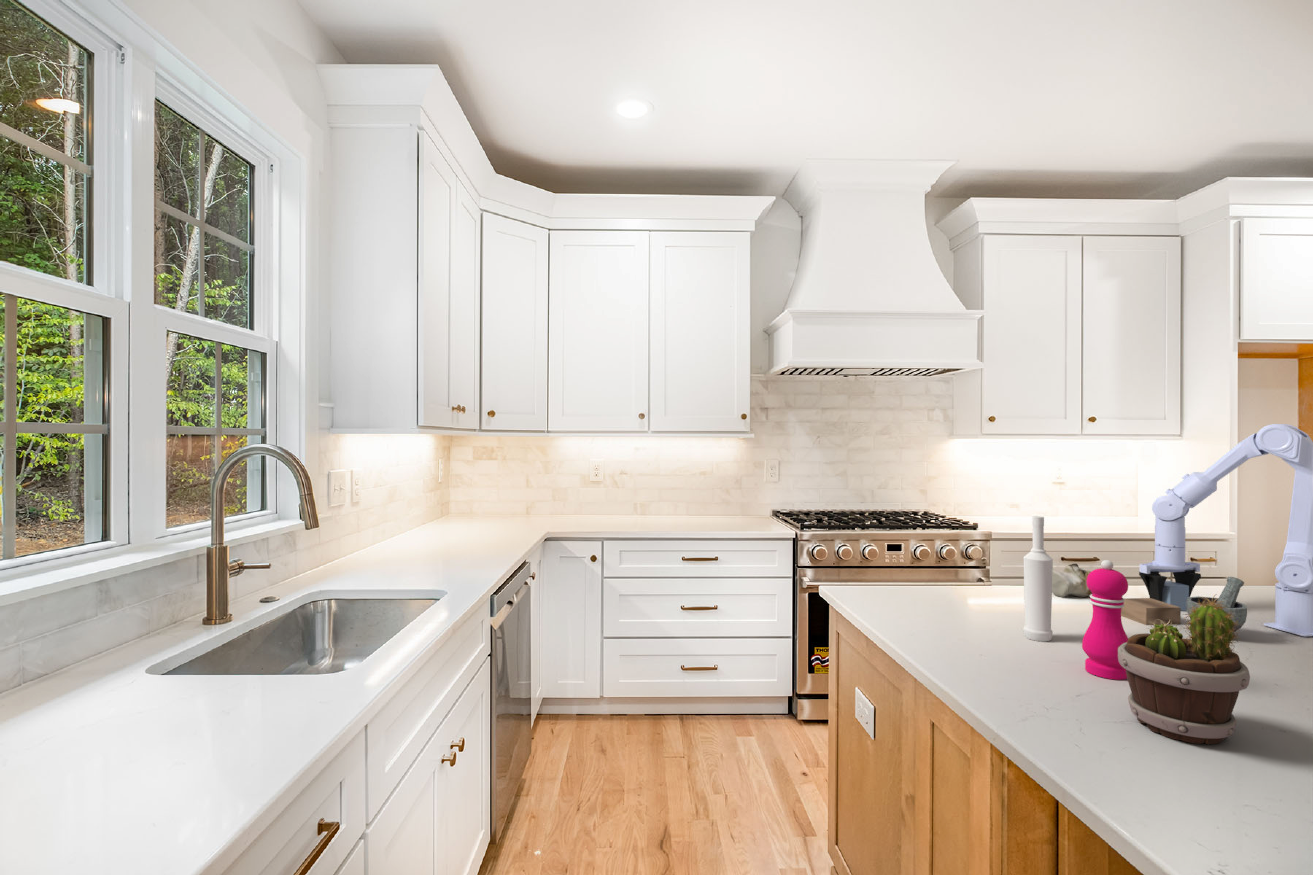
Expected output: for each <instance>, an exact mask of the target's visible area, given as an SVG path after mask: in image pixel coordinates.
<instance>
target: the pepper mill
mask: <svg viewBox="0 0 1313 875" xmlns="http://www.w3.org/2000/svg"><path fill="white" fill-rule="evenodd" d="M1100 563H1101V564H1100V566H1101V567H1100V568H1095V569H1093V570H1092V571H1090V573H1089V575H1088V576H1087V581H1086V583H1087V587H1088V588H1089V590H1090V591H1091V592H1092V594H1091V595H1089V597H1090V600H1089V603H1090V604H1092V617H1091V620H1090V623H1089V626H1088V627H1087V629H1086V631H1084V632H1085V633H1084V635H1083V637H1082V643H1081V647H1082V650H1083V652H1084V653H1085V654H1086V656H1087V658H1086V659H1085V661H1084V662H1085V663H1084V666H1085V668H1084V669H1085V671H1086V672H1087V673H1088V672H1089V673H1088V674H1090V675H1092V676H1095V675H1096V676H1095V677H1098V678H1101V677H1103V679H1106V678H1107V680H1113V679H1114V680H1115V681H1121V680H1122V681H1123V680H1128V679H1127V674H1126V669H1124V668H1123V667H1122V666H1121V665H1120V663H1119V661H1118V648H1119V646H1121V645H1122V644H1123V643H1126V642H1127V641H1128V639H1129V637H1128V635H1127V634H1126V631H1125V628H1124V626H1123V622H1122V616H1121V609H1122V608H1123V607H1124V606H1125V605H1124V601H1125V600H1124V599H1123V596H1124V595H1125V594H1127V593H1128V591H1129V582H1128V580H1127V578H1126V576H1125V575H1124V574H1123V573H1121V572H1120V571H1118V570H1116V569H1113V568H1114V563H1113V562H1112V561H1111V560H1109V559H1104V560H1102V561H1101V562H1100Z"/></svg>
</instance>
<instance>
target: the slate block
mask: <svg viewBox="0 0 1313 875" xmlns="http://www.w3.org/2000/svg"><path fill="white" fill-rule="evenodd" d="M1187 597H1189V586H1188V585H1184V584H1180V583H1176V582H1175V581H1171V580H1166V581H1165V584H1164V587H1163V593H1162V602H1165V603H1168V604H1171V605H1174V606H1177V607H1181V612H1188V611H1187Z"/></svg>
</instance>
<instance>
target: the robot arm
mask: <svg viewBox="0 0 1313 875" xmlns="http://www.w3.org/2000/svg"><path fill="white" fill-rule="evenodd" d="M1269 454H1270V455H1273V456H1276V457H1278V458H1280V459H1281V460H1283V461H1284V462H1285V463H1286V464H1288V465H1289V466H1290V467H1291V468H1293V469H1294V478H1293V485H1292V486H1293V487H1292V492H1291V494H1292V495H1291V503H1290V510H1289V519H1288V529H1287V538H1286V544H1285V547H1284V550H1283V554H1282V559H1281V561H1280V562H1279V563H1278V564H1277V565H1276V567H1275V569H1274V575H1275V579H1276V580H1277V581H1278V582H1275V584H1274V585H1275V588H1274V590H1275V595H1274V597H1275V598H1274V599H1275V602H1274V603H1275V604H1274V622H1264V623H1263V626H1264V627H1267V628H1268V627H1269V628H1272V629H1276V630H1280V631H1283V632H1287V633H1290V634H1293V635H1298V636H1299V637H1300V636H1301V637H1313V440H1312V439H1311V437H1310V435H1309V434H1307V432H1305V431H1303V430H1301V429H1300V428H1298V427H1297V426H1295V425H1292V424H1287V423H1281V424H1280V423H1272V424H1268V425H1265V426H1263V427H1262V428H1260V429H1259V430H1258V431H1257V432H1256V433H1253V434H1251V435H1249V436H1247V437H1246V438H1244V439H1243V440H1241V441H1239V442H1238V443H1237V444H1236V445H1235V446H1233V448H1231V449H1230V450H1228V451H1227V452H1226V453H1225V454H1224V455H1222V456H1221V457H1220V458H1219V459H1218V460H1217V461H1215V462H1214V463H1213V464H1212V465H1211V466H1209V467H1208V468H1207V469H1206V470H1205V471H1201V472H1200V471H1197V472H1196V471H1193V472H1191V474H1190V473H1186V474H1184V475H1183V476H1182V477H1181V478H1182V479H1183V480H1182V481H1180V482H1179V483H1177V485H1175V486H1174V487H1173V488H1171V489H1170V488H1168V489H1166V490H1165V492H1164V493H1166V495H1160V496H1158V497H1157V498H1156V499H1155V500H1154V502H1153V503H1152V506H1151V510H1152V513H1153V515H1154V516H1155V520H1154V521H1155V522H1154V560H1152V561H1151V562H1147V563H1139V571H1138V575H1139V577H1140V579H1141V580H1142V582H1143V583H1144V585H1145V587H1146V590H1147V593H1148V596H1149V597H1148V598H1152V599H1155V600H1158V601H1161V602H1162V593H1163V587H1164V584H1165V581H1167V579H1168V577H1167V576H1164V575H1161V573H1172V574H1173V577H1174V578H1173V579H1174V582H1176V583H1180V584H1184V585H1188V586H1189V597H1192V596H1191V595H1192V593H1193V591H1194V588H1195V586H1197V585H1196V584H1197V583H1198V582H1199V581H1200V580H1201V579H1202V573H1200V572H1201V563H1198V562H1192V561H1189V562H1188V561H1186V527H1185V526H1186V525H1185V524H1186V519H1185V518H1186V516H1187V515H1188V513H1189V512H1190V509H1194V508H1195V507H1196V506H1198V505H1199V504H1200V503H1202V502H1203V501H1205V500H1206V499H1207V498H1208V497H1210V496H1211V495H1213V494H1214V493H1215V492H1217V490H1218V487H1217V485H1218V482H1219V481H1220V480H1222V479H1223V478H1224V477H1226V476H1227V475H1229V474H1230V473H1232V472H1233V471H1234V470H1235V469H1237V468H1239V467H1240V466H1241V465H1243V464H1244V463H1246V462H1247V461H1248V460H1250V459H1253V458H1256V457H1262V456H1267V455H1269Z"/></svg>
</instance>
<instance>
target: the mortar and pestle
mask: <svg viewBox="0 0 1313 875" xmlns="http://www.w3.org/2000/svg"><path fill="white" fill-rule="evenodd" d="M1244 584H1245V582H1244V581H1243V580H1241V579H1240V578H1238V577H1234V576H1227V578H1226V584H1225V586H1224V588H1223V589H1222V591H1221V593H1220V594H1219V597H1214V598H1213V597H1209V596H1199V595H1198V596H1190V597H1187V611H1186V612H1188V613H1187V614H1188V615H1187V616H1189V613H1190V612H1191V613H1192V610H1193V609H1195V608H1194V607H1196V608H1197V606H1198V607H1200V606H1199V605H1198V604H1199V603H1198V602H1199V601H1200V603H1201V605H1202V602H1203V601H1204V600H1205V599H1206V598H1207V599H1208V600H1210V602H1212V598H1213V602H1214V600H1215V599H1217V600H1216V601H1215V603H1216V602H1217V603H1216V604H1218V603H1219V604H1220V603H1221V604H1220V606H1221V605H1223V606H1222V607H1227V608H1222V610H1224V609H1225V610H1224V611H1225V612H1226V613H1228V614H1230V613H1231V614H1232V615H1231V616H1233V615H1235V616H1233V617H1232V618H1231V617H1230V618H1231V619H1232V621H1233V622H1234V623H1235V622H1237V621H1238V622H1237V624H1238V625H1237V626H1236V625H1235V627H1234V625H1233V627H1234V628H1233V630H1234V629H1235V630H1234V631H1233V632H1232V633H1233V636H1236V631H1237V630H1236V629H1238V630H1240V629H1241V628H1243V626H1244V625H1245V624H1246V621H1247V616H1248V605H1247V604H1244V603H1242V602H1238V601H1237V599H1238V596H1239V593H1240V590H1241V588H1242V587H1244ZM1200 597H1201V598H1200ZM1204 597H1205V598H1204ZM1203 598H1204V599H1203ZM1207 599H1206V601H1207ZM1206 601H1205V602H1206ZM1218 601H1221V602H1218ZM1207 602H1208V601H1207ZM1222 603H1223V604H1222ZM1203 604H1204V603H1203ZM1206 604H1207V603H1205V605H1206ZM1208 604H1210V603H1209V602H1208ZM1191 606H1192V607H1193V609H1192V607H1191ZM1217 606H1219V605H1217ZM1190 609H1192V610H1190ZM1226 610H1227V611H1226ZM1231 610H1232V612H1231ZM1229 612H1230V613H1229ZM1234 612H1235V613H1234ZM1191 613H1190V614H1191ZM1233 613H1234V614H1233ZM1235 618H1236V619H1235ZM1240 624H1241V625H1240ZM1234 632H1235V633H1234ZM1234 634H1235V635H1234ZM1234 638H1235V637H1234ZM1232 640H1233V639H1232ZM1234 641H1236V638H1235V639H1234Z"/></svg>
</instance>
